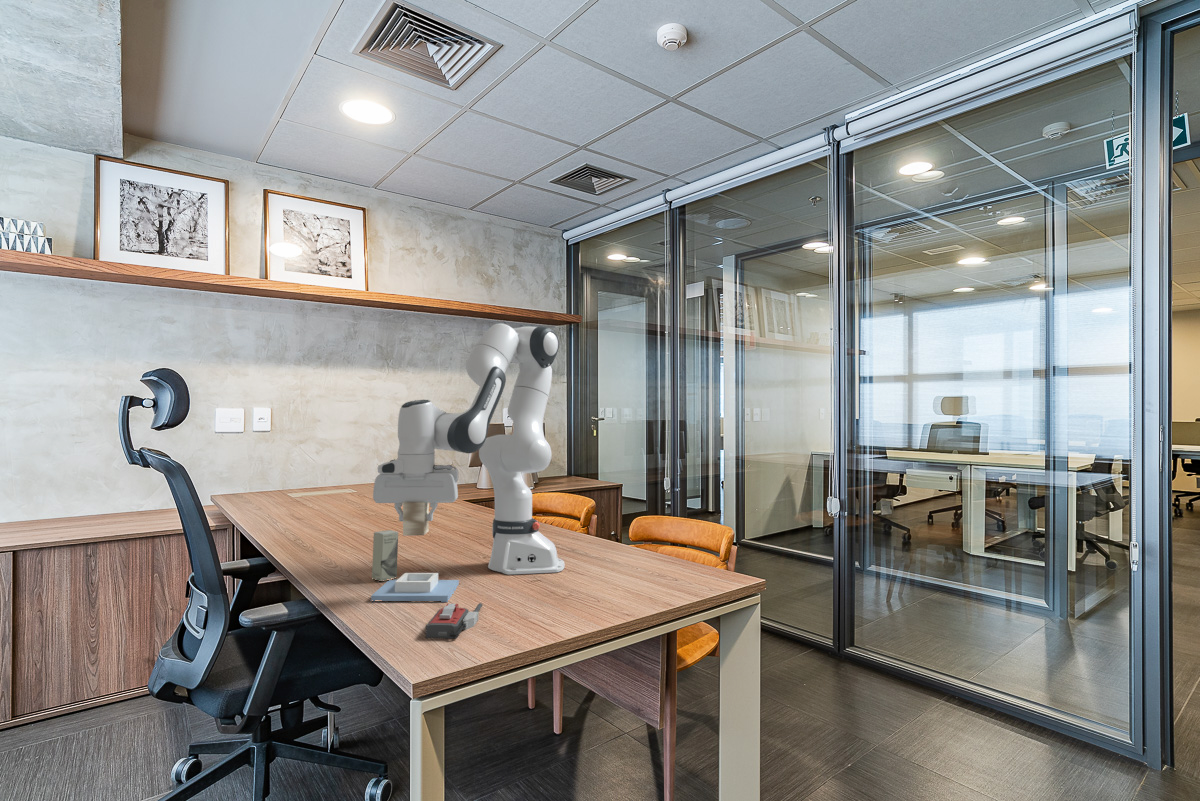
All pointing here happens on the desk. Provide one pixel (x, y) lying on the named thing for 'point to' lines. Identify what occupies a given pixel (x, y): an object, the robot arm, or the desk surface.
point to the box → (385, 555)
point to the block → (415, 518)
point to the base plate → (416, 588)
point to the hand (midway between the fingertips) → (416, 520)
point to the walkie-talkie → (451, 621)
